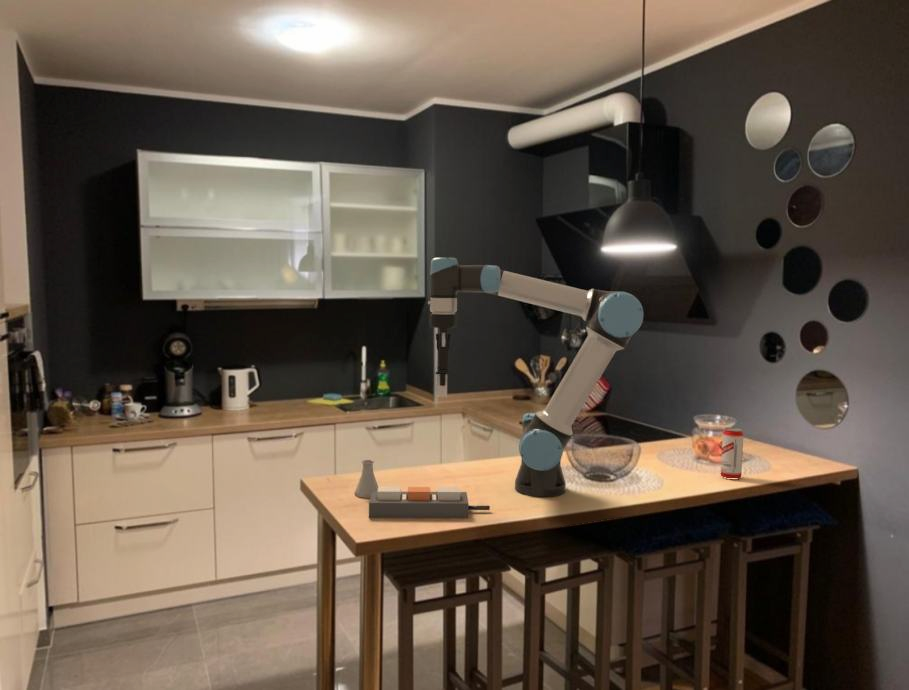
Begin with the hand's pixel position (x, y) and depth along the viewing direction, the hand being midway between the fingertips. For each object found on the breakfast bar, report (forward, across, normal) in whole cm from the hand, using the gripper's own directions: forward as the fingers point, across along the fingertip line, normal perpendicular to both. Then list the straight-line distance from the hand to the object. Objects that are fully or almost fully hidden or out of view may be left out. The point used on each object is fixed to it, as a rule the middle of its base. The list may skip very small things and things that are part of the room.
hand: (442, 396), depth 202 cm
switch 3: (+27, +13, +2) cm, 30 cm away
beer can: (+30, -21, +94) cm, 101 cm away
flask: (+29, -3, -21) cm, 36 cm away
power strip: (+29, +13, -3) cm, 32 cm away
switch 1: (+27, +12, -14) cm, 33 cm away
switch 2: (+27, +13, -6) cm, 30 cm away
